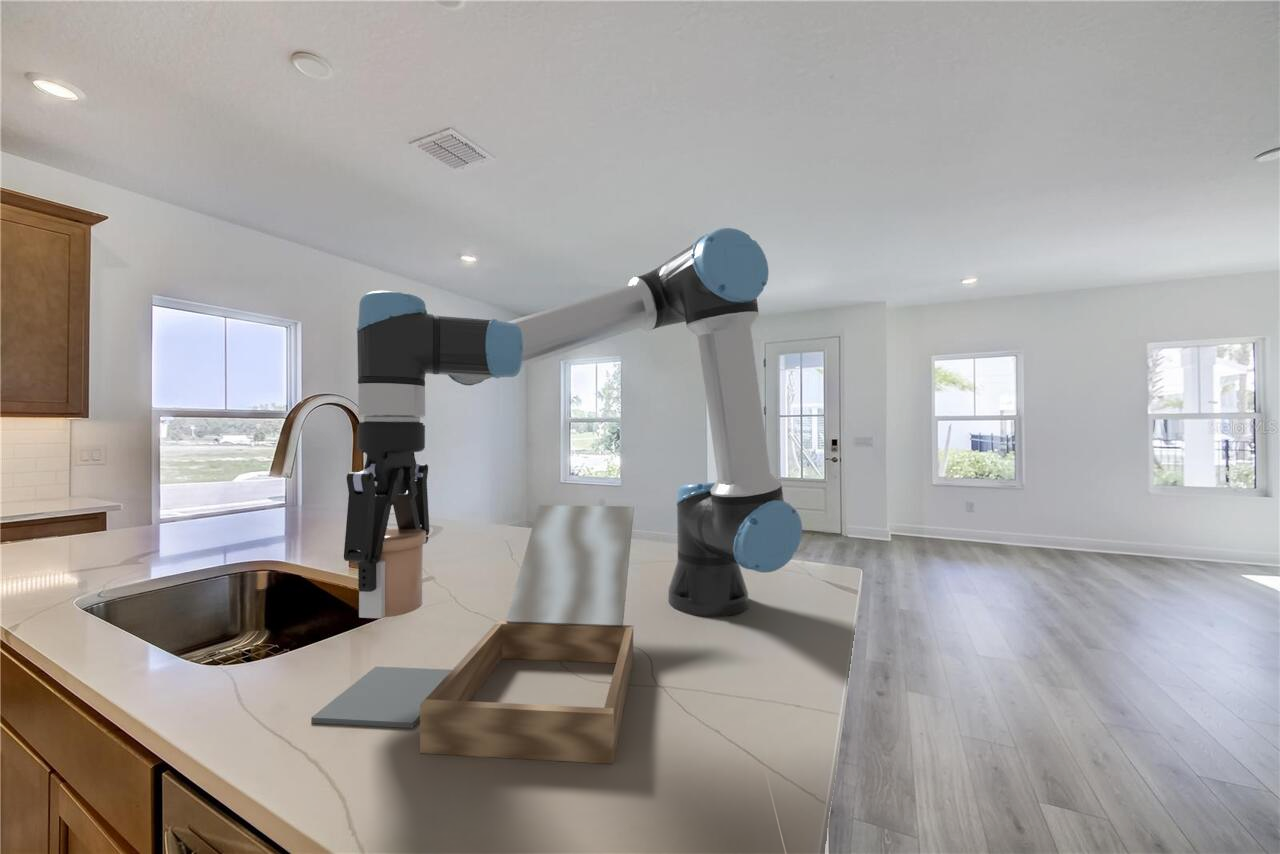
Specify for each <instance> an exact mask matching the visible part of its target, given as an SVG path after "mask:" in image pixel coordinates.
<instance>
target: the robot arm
mask: <svg viewBox="0 0 1280 854" xmlns="http://www.w3.org/2000/svg"><path fill="white" fill-rule="evenodd" d="M768 280H769V263H768V259H767V257H766V254H765V253H764V250H763V248H762V247H761V245H760V244H759V243H758V242H757V240H753V239H752V238H751V236H750V235H749V234H748V233H746V232H745V231H742V230H740V229H737V228H733V227H723V228H718V229H716V230H714V231H712V232H710V233H707V234H705V235H702V236H701V237H699V238H698V239H697V240H696V241H695V242H693V243H692V245H690V246H688V247H687V248H686V249H684V250H683V251H681V252H678V254H676V255H674V256H672V257H671V258H669V260H667V261H666V262H664V263H663V264H661V265H659V266H657V268H655V269H653V270H651V271H649V272H647V273H645V274H644V273H643V274H642V275H639V276H635V277H633V278H631V279H629V281H628V284H627V286H622V287H620V288H617V289H614V290H613V289H612V290H609V291H606V292H603V293H599V294H597V295H593V296H589V297H586V298H582V299H579V300H576V301H573V302H569V303H566V304H563V305H559V306H556V307H552V308H549V309H545V310H543V311H538V312H535V313H532V314H528V315H525V316H523V317H518V318H515V319H512V320H508V321H501V320H498V319H495V318H492V319H480V318H470V317H469V318H468V317H454V316H441V315H434V314H432V313H428V310H427V309H426V303H425V301H424V300H423V299H422V298H421V297H419V296H418V295H417V296H416V295H413V294H409V293H403V292H401V291H391V290H390V291H389V290H376V291H370V292H368V293H365V294H364V295H363V296H361V299H360V301H359V303H358V304H359V305H358V306H359V307H358V308H359V309H358V321H357V323H358V324H357V328H356V332H357V333H356V334H357V335H356V337H357V384H358V391H357V415H358V417H359V418H363V421H361V422H359V423H358V424H357V426H356V428H357V430H356V431H357V433H356V434H357V436H356V437H357V438H356V439H357V441H356V443H357V444H356V445H357V446H356V447H357V451H358V452H360V453H363V454H364V453H365V454H366V459H365V460H366V461H365V465H364V468H363V469H362V470H361V471H359V472H358V471H349V472H348V473H347V475H346V484H347V489H348V498H347V499H348V502H347V510H346V511H347V512H346V523H345V524H346V526H345V535H344V546H343V547H344V549H343V550H344V551H343V559H344V561H345V562H349V563H356V564H357V567H358V569H357V572H358V574H357V576H358V584H357V586H358V587H357V588H358V598H359V599H358V618H363V619H364V618H365V619H382V618H383V617H384V616H385V561H384V560H380V558H381V553H382V548H383V541H384V539H385V534H386V529H388V525H389V518H390V514H391V511H392V507H393V510H394V515H395V520H396V524H397V528H398V529H422V530H425V531H426V543H425V544H428V542H429V536H428V535H429V534H430V518H429V516H430V515H429V499H428V497H429V495H428V475H429V465H428V464H427V463H417V460H416V458H415V455H416V454H415V453H421V452H422V451H424V449H425V448H426V445H425V444H426V425H425V424H424V422H421V419H422V418H423V419H424V418H425V416H426V380H425V378H426V375H428V374H431V375H446V376H448V377H449V378H450V379H451V380H452V381H454V382H455V383H458V384H461V385H464V386H474V385H478V384H481V383H483V382H484V381H485V380H488V379H492V378H494V379H501V378H514V377H515V378H516V376H518V375H519V373H520V371H521V368H523V367H527V366H529V365H532V364H535V363H537V362H542V361H544V360H548V359H551V358H552V357H557V356H559V355H562V354H565V353H568V352H572V351H574V350H578V349H580V348H583V347H587V346H589V345H592V344H595V343H598V342H601V341H604V340H606V339H610V338H613V337H617V336H619V335H622V334H624V333H629V332H630V331H634V330H637V329H641V330H643V331H647V332H649V331H652V330H654V329H659V328H663V327H666V326H670V325H675V324H681V323H682V324H683V323H685V324H686V329H688V330H690V331H691V332H692V333H694V334H695V335H696V337H697V341H698V347H699V357H700V362H701V363H700V364H701V368H702V370H701V371H702V375H703V376H702V377H703V382H704V383H703V384H704V390H705V398H706V406H707V411H708V413H707V414H708V419H709V426H710V427H709V428H710V432H711V440H712V447H713V448H712V449H713V454H714V455H713V456H714V460H715V469H716V474H717V475H716V476H717V480H716V482H705V483H704V482H701V483H689V484H687V483H685V484H681V486H680V487H679V488H678V491H677V499H676V506H677V508H676V509H677V522H676V523H677V561H676V565H675V568H674V571H673V575H672V578H671V581H670V584H669V587H668V598H667V599H668V603H669V605H670V607H672V608H673V609H674V610H676V611H679V612H681V613H685V614H689V615H692V616H699V617H710V618H711V617H712V618H714V617H728V616H733V615H736V614H740V613H742V612H744V611H746V610H747V609H748V607H749V592H748V589H747V585H746V582H745V579H744V575H743V573H742V569H741V567H742V568H743V569H745V570H752V571H755V572H758V573H766V574H767V573H772V572H775V571H778V570H780V569H781V568H783V567H785V565H787V564H788V563H790V561H791V560H792V559H793V556H794V554H795V553H796V552H797V551H798V549H799V546H800V545H801V542H802V536H803V525H802V523H803V522H802V520H801V519H802V518H801V517H800V515H799V513H798V511H797V509H795V508H793V506H792V505H791V504H790V503H788V502H786V501H785V500H784V493H783V486H782V481H781V480H779V479H778V478H777V477H775V476H774V474H772V473H771V469H770V461H769V454H768V447H767V437H766V431H765V430H766V429H765V424H764V416H763V408H762V400H761V394H760V393H761V392H760V385H759V377H758V371H757V366H756V365H757V364H756V357H755V350H754V349H755V348H754V343H753V342H754V341H753V335H752V333H753V332H752V326H753V324H754V323H755V321H756V320H757V319H758V317H759V315H760V311H759V306H758V305H759V304H758V298H759V296H760V295H761V294H762V293H763V291H764V288H765V286H767V283H768ZM425 544H424V545H425ZM371 551H372V552H371ZM384 618H385V617H384Z"/></svg>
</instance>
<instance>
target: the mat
mask: <svg viewBox="0 0 1280 854" xmlns="http://www.w3.org/2000/svg"><path fill="white" fill-rule="evenodd" d="M452 670H453V669H443V668H422V667H421V668H417V667H401V666H400V667H398V666H397V667H395V666H374V667H373V668H371V669H370V670H369V671H368V672H367V673H365V674H364V675H363V676H362V677H360V679H358V680H357V681H355V682H354V683H353V684H352V685H351V686H348V688H346V689H345V690H344V691H343V692H341V693H339V695H337V697H335V698H334V699H332V701H331V702H329V703H328V704H326V705H325V706H324V707H322V708H321V709H320V710H319V711H318V712H316V713H315V714H314V715H312V716H311V717H310V718H311V719H310V720H311V724H328V725H346V726H347V725H349V726H363V727H364V726H365V727H366V726H367V727H369V726H370V727H386V728H387V727H388V728H401V729H403V728H405V729H414V727H415V726H416V725H417V724H418V723H420V704H421V703H422V702H423V701H424V700H425V699H426V698H427V697H428V696H429V694H430V693H431V692H432V691H433V690H434V689H435V688H436V687H437V686H438V685H439V684H440V683H441V682H442V680H443V679H444V678H445V677H446V676H447V675H448V674H449V673H450V672H451V671H452Z"/></svg>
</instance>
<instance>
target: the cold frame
mask: <svg viewBox="0 0 1280 854" xmlns="http://www.w3.org/2000/svg"><path fill="white" fill-rule="evenodd" d="M634 508H635V507H634V506H622V505H621V506H620V505H617V506H614V505H613V506H611V505H610V506H609V505H556V504H553V505H550V504H549V505H548V504H545V505H544V504H542V505H541V504H539V505H538V506H537V511H536V514H535V518H534V521H533V524H532V528H531V531H530V535H529V538H528V542H527V546H526V550H525V553H524V556H523V560H522V563H521V565H520V566H521V567H520V570H519V574H518V576H517V581H516V585H515V588H514V590H513V591H514V592H513V595H512V598H511V603H510V605H509V610H508V611H507V612H508V613H507V616H506V620H505V621H504V620H497V621H496V623H494V625H493V626H492V627H491V628H490V629H488V631H487V632H486V633H485V634H484V635H483V637H481V638H480V640H478V642H477V643H475V645H474V646H473V647H472V648H471V649H470V650H469V651H468V652H467V653H466V654H465V656H464V657H463V658H462V659H461V660H460V661H459V662H458V663H457V665H456V666H455V667H454V668H453V669H451V670H452V671H451V672H450V673H449V674H448V675H447V676H446V677H445V678H444V679H443V680H442V682H441V683H440V684H439V685H438V686H437V687H436V688H435V689H434V690H433V691H432V692H431V693H430V694H429V696H428V697H427V698H426V699H425V700H424V701H423V702H422V703H421V704H420V721H419V753H420V754H429V755H430V754H431V755H445V756H447V755H448V756H449V755H450V756H463V757H464V756H465V757H466V756H468V757H484V758H485V757H487V758H501V759H503V758H504V759H517V760H518V759H519V760H522V759H523V760H537V761H538V760H539V761H553V762H554V761H555V762H557V761H558V762H572V763H573V762H574V763H575V762H576V763H592V764H609V765H613V764H614V758H615V754H616V749H617V744H618V743H617V742H618V740H619V739H618V738H619V735H620V734H619V732H620V728H621V723H622V719H623V715H624V710H625V709H624V708H625V703H626V700H627V699H626V698H627V693H628V688H629V683H630V678H631V674H632V673H631V672H632V668H633V664H634V625H628V624H627V625H625V624H624V618H625V606H626V597H627V596H626V595H627V587H628V576H629V575H628V574H629V566H630V565H629V564H630V554H631V543H632V542H631V541H632V535H633V534H632V533H633V532H632V531H633V524H634V523H633V522H634V514H635V513H634V511H635V509H634ZM503 659H506V660H508V659H510V660H514V659H515V660H531V661H532V660H534V661H555V662H556V661H558V662H579V663H581V662H583V663H584V662H585V663H607V664H609V663H610V664H612V663H613V664H615V666H614V669H613V670H614V671H613V674H612V677H611V681H610V685H609V688H608V692H607V695H606V699H605V703H604V707H596V706H595V707H594V706H576V705H575V706H574V705H554V704H552V705H551V704H549V705H548V704H533V703H531V704H530V703H528V704H527V703H511V702H490V701H489V702H488V701H487V702H485V701H471V700H472V698H473V697H474V696H475V694H476V693H477V692H478V691H479V689H481V687H482V686H483V684H484V683H485V681H487V679H488V678H489V676H490V675H491V673H492V672H493V671H494V670H495V668H496V667H497V665H498V664H499V663H500V662H501V660H503Z"/></svg>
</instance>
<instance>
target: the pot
mask: <svg viewBox="0 0 1280 854" xmlns="http://www.w3.org/2000/svg"><path fill="white" fill-rule="evenodd" d="M426 537H427V536H426V531H425V530H422V529H398V527H397V528H387V529H386V534H385V539H384V541H383V548H382V553H381V558H380V560H384V561H385V616H384V617H383V618H392V617H398V616H403V615H405V614H409V613H411V612H414V611H416V610H418V609H420V608H421V607H422V605H423V559H424V558H423V555H424V553H423V545H425V543H426ZM426 544H427V543H426ZM371 552H372V551H371Z"/></svg>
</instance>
